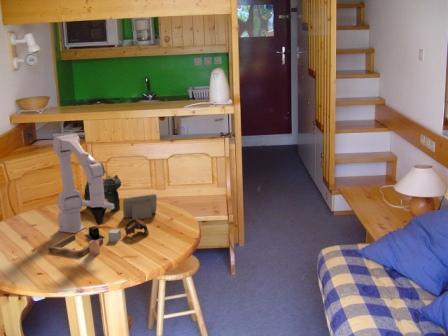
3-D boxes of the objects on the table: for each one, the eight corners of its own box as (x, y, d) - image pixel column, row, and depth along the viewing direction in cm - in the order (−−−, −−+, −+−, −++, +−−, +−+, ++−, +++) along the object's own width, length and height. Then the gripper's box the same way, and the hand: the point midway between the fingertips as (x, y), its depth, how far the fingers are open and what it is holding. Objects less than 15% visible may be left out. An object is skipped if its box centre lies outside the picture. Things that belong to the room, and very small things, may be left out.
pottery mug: (148, 239, 239) (138, 225, 235) (130, 247, 241) (119, 234, 238) (153, 223, 249) (142, 209, 246) (135, 231, 252) (125, 217, 248)
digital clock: (157, 212, 271) (156, 191, 268) (158, 218, 262) (156, 196, 260) (123, 214, 269) (122, 193, 266) (123, 221, 260) (121, 199, 257)
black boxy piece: (80, 236, 245) (79, 226, 244) (95, 231, 250) (94, 222, 249) (93, 243, 236) (92, 233, 235) (109, 239, 240) (108, 228, 239)
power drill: (124, 209, 277) (120, 170, 272) (117, 213, 271) (113, 173, 266) (90, 205, 284) (86, 167, 279) (82, 209, 278) (78, 171, 273)
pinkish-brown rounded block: (87, 254, 224) (86, 243, 222) (93, 250, 227) (92, 239, 226) (96, 256, 222) (94, 244, 221) (102, 252, 226) (100, 240, 224)
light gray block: (109, 241, 237) (108, 232, 235) (112, 237, 240) (111, 229, 239) (118, 241, 236) (117, 233, 235) (121, 238, 240) (120, 229, 239)
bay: (49, 251, 228) (48, 247, 227) (72, 238, 241) (72, 234, 240) (81, 257, 221) (80, 252, 221) (103, 243, 235) (102, 238, 234)
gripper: (76, 193, 225) (79, 225, 228) (106, 197, 219) (109, 229, 222) (86, 188, 231) (89, 219, 234) (116, 191, 225) (118, 223, 229)
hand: (99, 223), depth 229 cm, fingers closed
